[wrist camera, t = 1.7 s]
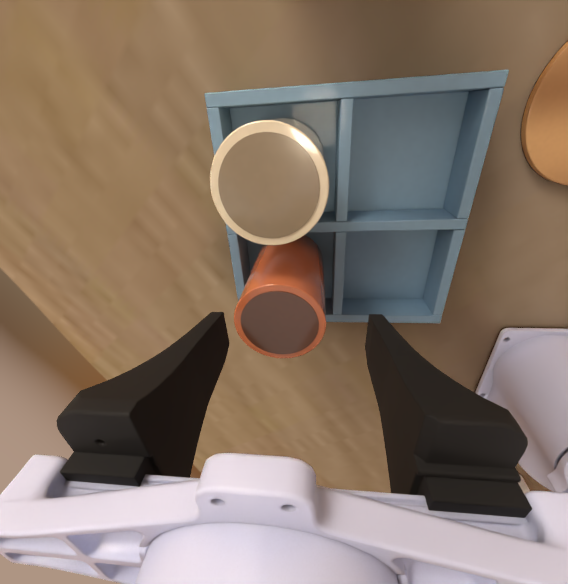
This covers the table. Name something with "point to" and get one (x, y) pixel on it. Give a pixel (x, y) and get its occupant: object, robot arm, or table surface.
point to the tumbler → (284, 300)
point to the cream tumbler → (270, 180)
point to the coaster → (548, 121)
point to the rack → (381, 183)
